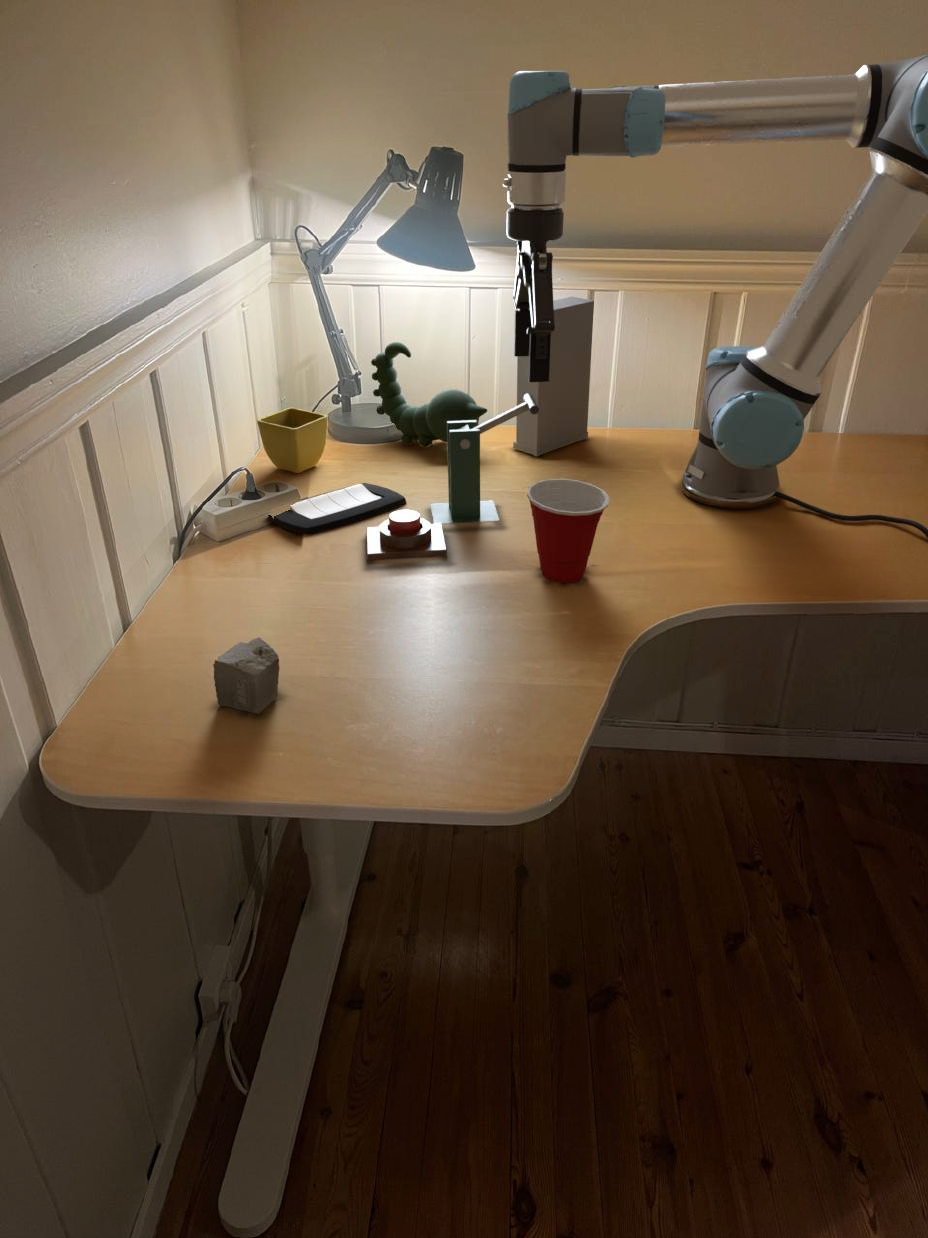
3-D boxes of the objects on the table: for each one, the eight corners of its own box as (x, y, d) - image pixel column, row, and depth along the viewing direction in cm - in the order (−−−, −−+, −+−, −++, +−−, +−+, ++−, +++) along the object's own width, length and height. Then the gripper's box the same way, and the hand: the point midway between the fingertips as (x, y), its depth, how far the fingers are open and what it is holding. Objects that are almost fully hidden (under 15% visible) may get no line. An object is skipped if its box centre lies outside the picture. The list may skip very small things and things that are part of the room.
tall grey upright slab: (563, 431, 180) (568, 295, 167) (587, 439, 176) (595, 300, 163) (512, 449, 172) (513, 307, 159) (536, 457, 168) (540, 313, 155)
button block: (441, 536, 139) (441, 511, 137) (447, 563, 131) (446, 537, 129) (367, 540, 138) (365, 515, 136) (368, 568, 131) (366, 542, 129)
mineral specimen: (197, 718, 99) (194, 646, 97) (247, 691, 107) (244, 623, 104) (256, 732, 96) (254, 659, 94) (302, 703, 104) (301, 634, 102)
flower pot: (333, 464, 166) (328, 414, 161) (300, 480, 160) (294, 428, 155) (295, 455, 170) (290, 406, 166) (261, 470, 164) (255, 420, 159)
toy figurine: (369, 447, 178) (474, 464, 163) (356, 345, 169) (465, 353, 155) (402, 434, 184) (506, 449, 170) (391, 335, 176) (498, 341, 161)
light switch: (364, 474, 156) (413, 491, 146) (366, 490, 158) (415, 508, 148) (257, 504, 146) (302, 525, 136) (260, 522, 147) (305, 544, 137)
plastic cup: (594, 598, 122) (599, 513, 116) (514, 585, 125) (516, 502, 119) (612, 563, 131) (618, 482, 125) (537, 552, 134) (540, 472, 128)
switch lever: (535, 402, 140) (528, 388, 139) (541, 415, 135) (535, 400, 133) (456, 441, 142) (449, 428, 140) (460, 455, 136) (453, 441, 135)
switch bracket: (493, 507, 149) (493, 415, 141) (500, 527, 142) (500, 433, 134) (430, 510, 148) (427, 418, 140) (433, 531, 141) (430, 436, 133)
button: (419, 521, 135) (419, 508, 134) (421, 534, 131) (421, 521, 130) (389, 523, 135) (388, 510, 134) (390, 536, 131) (389, 522, 130)
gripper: (494, 196, 134) (493, 346, 145) (521, 219, 112) (517, 394, 123) (547, 195, 135) (542, 345, 145) (583, 217, 113) (574, 392, 124)
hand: (530, 368), depth 134 cm, fingers open, 13 cm apart
